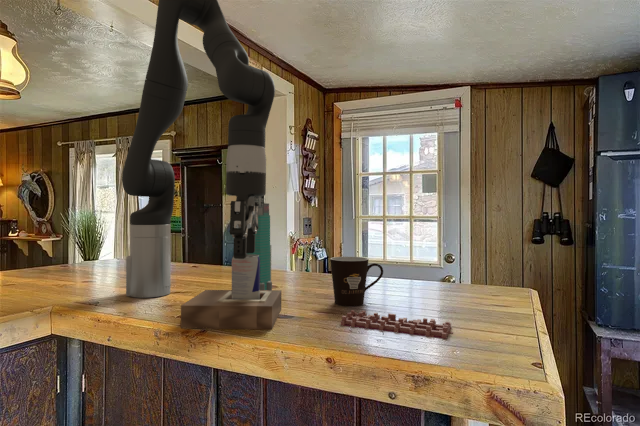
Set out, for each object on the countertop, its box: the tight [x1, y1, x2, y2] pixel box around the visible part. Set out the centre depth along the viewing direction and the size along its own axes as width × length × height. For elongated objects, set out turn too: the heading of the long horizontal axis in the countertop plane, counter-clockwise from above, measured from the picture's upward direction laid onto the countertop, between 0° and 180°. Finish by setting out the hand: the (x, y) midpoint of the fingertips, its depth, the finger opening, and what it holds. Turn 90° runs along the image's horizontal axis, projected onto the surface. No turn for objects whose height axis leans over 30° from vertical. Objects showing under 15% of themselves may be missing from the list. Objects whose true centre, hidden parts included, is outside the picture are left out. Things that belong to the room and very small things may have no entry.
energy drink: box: [231, 253, 260, 300], centre depth 77 cm, size 5×5×12 cm
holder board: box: [180, 289, 282, 330], centre depth 77 cm, size 16×14×4 cm
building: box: [246, 196, 273, 290], centre depth 98 cm, size 6×6×30 cm
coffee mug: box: [329, 256, 384, 308], centre depth 89 cm, size 12×9×10 cm
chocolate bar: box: [340, 310, 454, 340], centre depth 72 cm, size 7×19×2 cm, turn 66°
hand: (244, 255), depth 77 cm, fingers open, 8 cm apart
